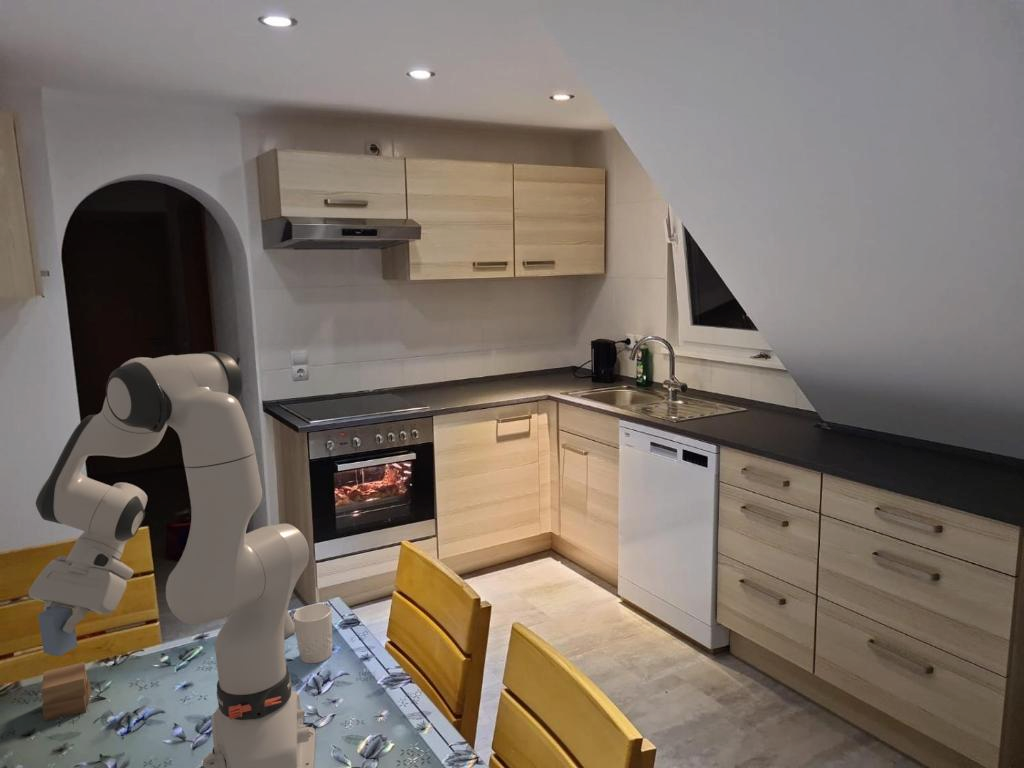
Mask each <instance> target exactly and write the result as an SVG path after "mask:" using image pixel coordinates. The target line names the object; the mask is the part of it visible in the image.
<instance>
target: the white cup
mask: <svg viewBox="0 0 1024 768" xmlns="http://www.w3.org/2000/svg"><path fill="white" fill-rule="evenodd" d="M332 615H333V614H332V608H331V607H330V606H329V605H327V604H323V603H321V604H320V603H316V604H315V603H314V604H309V605H305V606H303V607H302V606H301V607H300V608H298V609H296V611H295V612H294V613H293V615H292V616H293V622H294V624H295V636H296V641H297V643H296V644H297V647H298V651H299V654H298V655H299V658H300V660H301V662H304V663H305V664H318V663H321V662H325V661H327V660H328V659H329V658H330V657H332V654H333V625H332V624H333V622H332V621H333V619H332V618H333V617H332Z"/></svg>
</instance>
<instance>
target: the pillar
mask: <svg viewBox="0 0 1024 768" xmlns="http://www.w3.org/2000/svg"><path fill="white" fill-rule="evenodd" d="M43 611H44V610H43ZM43 611H42V612H39V613H38V614H37V618H38V625H39V629H40V636H41V643H42V649H43V654H47V655H50V656H55V657H57V658H58V657H59V658H60V657H61V656H63V655H65V654H66V653H68V652H70V651H72V650H73V649H75V648H78V641H77V632H76V626H75V627H74V628H73V630H72V632H71V633H67V632H64V631H61V630H60V629H59V628H60V626H61V625H62V622H63V620H65V621H67V620H68V619H69V618H70V617H71V616H72V615H73V614H74V612H73V608H71V607H66V606H61V605H56V606H54V607H52V608H50V609H48V610H46V611H44V612H43Z"/></svg>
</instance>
